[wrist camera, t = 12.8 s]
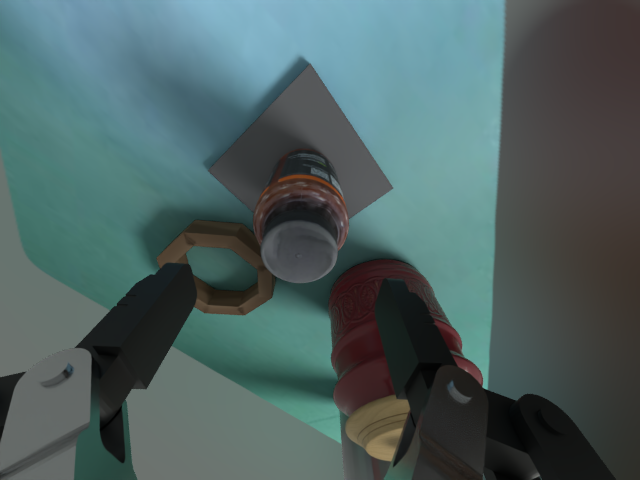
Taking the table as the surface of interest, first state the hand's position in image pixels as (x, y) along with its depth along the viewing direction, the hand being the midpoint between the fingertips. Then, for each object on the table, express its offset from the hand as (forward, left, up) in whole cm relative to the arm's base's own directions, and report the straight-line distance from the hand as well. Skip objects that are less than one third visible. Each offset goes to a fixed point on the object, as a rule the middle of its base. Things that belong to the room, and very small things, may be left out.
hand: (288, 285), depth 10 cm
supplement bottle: (0, 0, -14) cm, 14 cm away
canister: (-18, +3, -14) cm, 23 cm away
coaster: (0, 0, -14) cm, 14 cm away
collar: (-2, +14, -14) cm, 20 cm away
